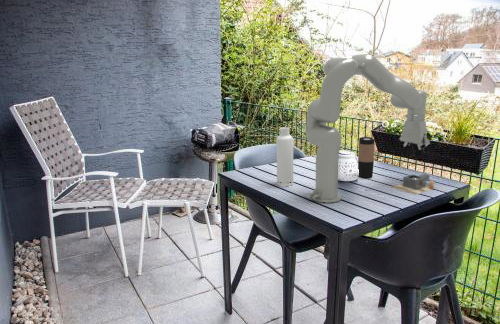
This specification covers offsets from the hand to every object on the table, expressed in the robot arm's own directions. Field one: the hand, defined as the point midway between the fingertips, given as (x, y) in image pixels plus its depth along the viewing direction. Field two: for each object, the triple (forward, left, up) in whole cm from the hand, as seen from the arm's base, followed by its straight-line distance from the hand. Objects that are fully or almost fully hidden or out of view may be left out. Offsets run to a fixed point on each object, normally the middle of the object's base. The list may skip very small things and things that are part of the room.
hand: (413, 155), depth 181 cm
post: (-6, -6, -12) cm, 15 cm away
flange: (-3, -6, -12) cm, 14 cm away
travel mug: (-8, +21, -14) cm, 26 cm away
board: (-8, -6, -14) cm, 17 cm away
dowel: (-3, -12, -12) cm, 17 cm away
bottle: (-48, +36, -14) cm, 62 cm away
